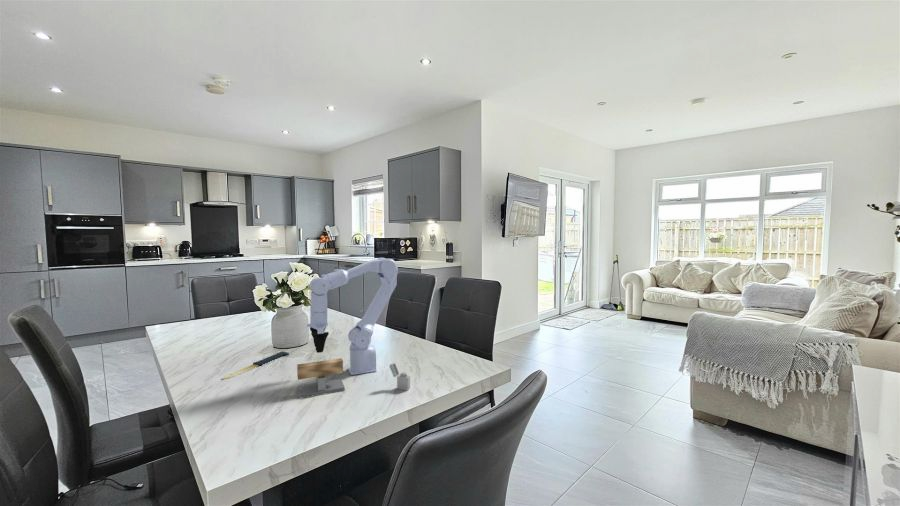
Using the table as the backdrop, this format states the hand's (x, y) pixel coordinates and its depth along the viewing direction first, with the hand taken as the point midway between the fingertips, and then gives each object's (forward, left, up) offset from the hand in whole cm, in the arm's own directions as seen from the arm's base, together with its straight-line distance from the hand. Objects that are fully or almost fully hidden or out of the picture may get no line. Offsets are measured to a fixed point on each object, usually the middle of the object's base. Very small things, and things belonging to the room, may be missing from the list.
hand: (318, 349), depth 132 cm
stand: (0, +11, -10) cm, 15 cm away
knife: (+21, -24, -11) cm, 34 cm away
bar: (0, +11, -5) cm, 12 cm away
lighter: (-24, +21, -11) cm, 33 cm away
